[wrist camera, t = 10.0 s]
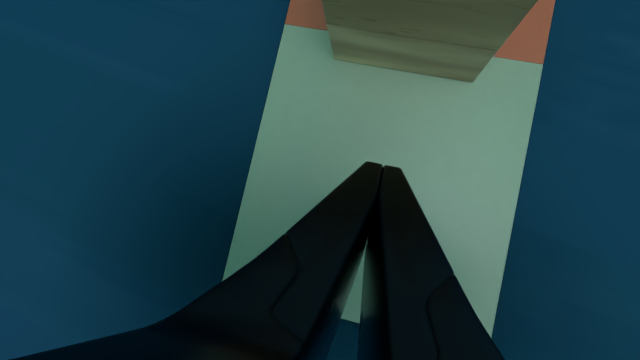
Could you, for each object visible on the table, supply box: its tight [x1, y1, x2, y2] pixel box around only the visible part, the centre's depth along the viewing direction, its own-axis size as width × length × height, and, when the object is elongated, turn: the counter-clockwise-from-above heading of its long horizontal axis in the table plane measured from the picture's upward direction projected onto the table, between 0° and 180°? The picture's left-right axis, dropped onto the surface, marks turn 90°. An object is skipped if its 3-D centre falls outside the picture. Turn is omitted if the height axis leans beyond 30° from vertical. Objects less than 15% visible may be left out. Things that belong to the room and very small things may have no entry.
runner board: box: [222, 24, 543, 337], centre depth 18 cm, size 14×13×1 cm
